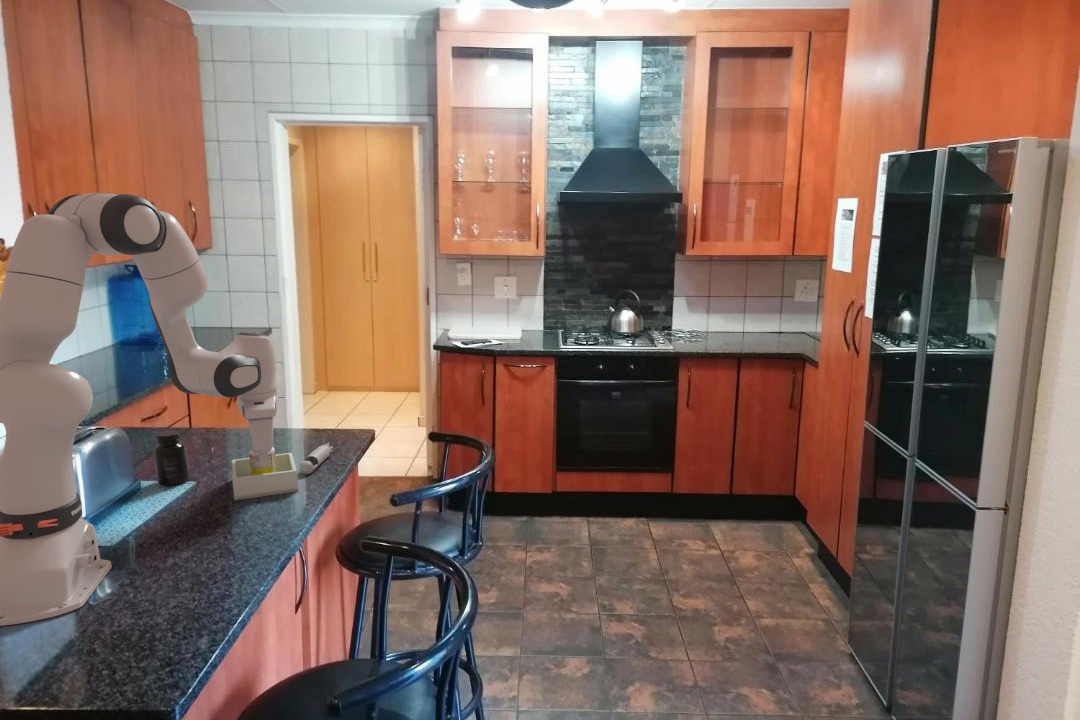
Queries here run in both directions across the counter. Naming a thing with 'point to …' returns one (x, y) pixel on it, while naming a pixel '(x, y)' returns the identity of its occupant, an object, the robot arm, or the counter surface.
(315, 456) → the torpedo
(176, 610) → the counter surface
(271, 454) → the supplement bottle
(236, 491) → the bin
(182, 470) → the supplement bottle
